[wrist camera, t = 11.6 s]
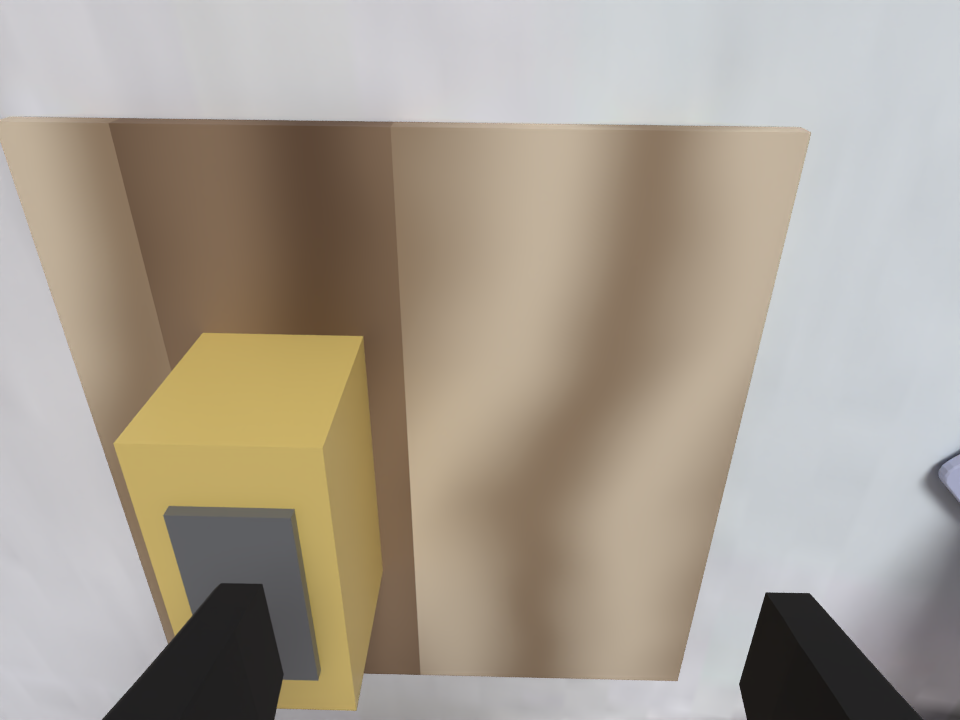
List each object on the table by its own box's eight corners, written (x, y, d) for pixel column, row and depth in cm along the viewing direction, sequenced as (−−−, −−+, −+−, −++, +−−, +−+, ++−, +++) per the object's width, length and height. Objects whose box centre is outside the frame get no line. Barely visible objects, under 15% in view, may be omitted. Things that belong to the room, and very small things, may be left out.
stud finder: (363, 336, 19) (319, 457, 14) (382, 571, 23) (354, 720, 18) (202, 332, 19) (106, 452, 14) (253, 567, 23) (192, 716, 18)
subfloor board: (801, 127, 16) (811, 132, 16) (673, 666, 26) (677, 680, 26) (9, 116, 16) (-6, 121, 16) (182, 655, 26) (176, 668, 26)
